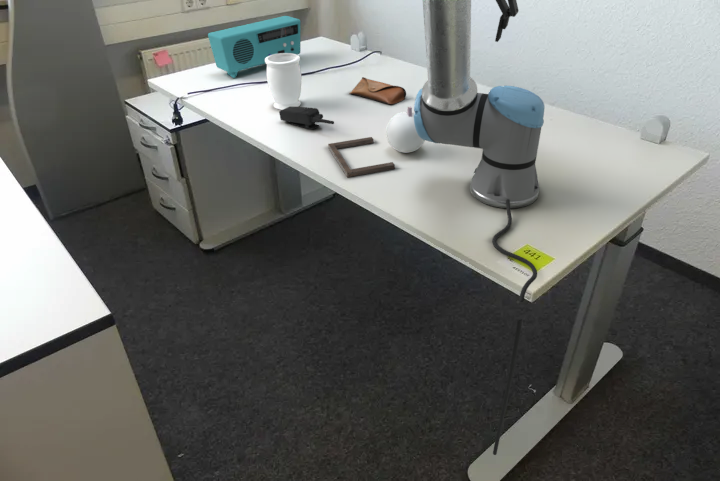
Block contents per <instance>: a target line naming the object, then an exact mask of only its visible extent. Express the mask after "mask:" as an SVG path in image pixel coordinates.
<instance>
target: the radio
mask: <svg viewBox="0 0 720 481" xmlns="http://www.w3.org/2000/svg"><path fill="white" fill-rule="evenodd" d="M207 37H208V40H209V45H210V48H211V51H212V55H213V58H214V62H215V66H216V67H217V69H220V70H222V71H225V72H226V73H227V75H228V76H230V77H231V78H232V79H236V78H237V75H238V72H240V71H244V70H247V69H251V68H254V67H255V68H256V67H258V66H262V65H266V63H265V58H266V57H268V56H270V55H274V54H280V53H292V54H296V55H298V56H299V55H300V54H301V20H300V19H299V18H295V17H292V16H288V15H283V16H279V17H274V18H269V19H264V20H261V21H255V22H251V23H248V24H243V25H238V26H233V27H229V28H225V29H221V30H216V31H211V32H208V33H207Z"/></svg>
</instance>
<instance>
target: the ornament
mask: <svg viewBox="0 0 720 481" xmlns="http://www.w3.org/2000/svg"><path fill="white" fill-rule="evenodd" d="M414 114H415V112H413V107H412V106H407V110H406V111H402V112H398V113H396V114H394V115H392V117H391V118H390V119H389V120H388V122H387V125H386V127H385V128H386V129H385V133H386V134H385V136H386V140H387V143H388V144H389V146H390V147H391V148H392V149H394V150H395V151H397V152H399V153H413V152H414V151H417V150H419V149H420V148H421V147H422V146H423V144H424V143H425V141H426V140H423V139H421V138H420V137H419V135H418V134H417V131H416V128H415V124H414Z"/></svg>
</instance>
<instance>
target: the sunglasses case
mask: <svg viewBox="0 0 720 481" xmlns="http://www.w3.org/2000/svg"><path fill="white" fill-rule="evenodd" d="M348 93H349V95H353V96H358V97H362V98H365V99H368V100H372V101H375V102H378V103H382V104H387V105H395V104H398V103H401V102H402V101H405V100H406V97H407V90H406V89H405V88H404V87H403V86H399V85H392V84H389V83H386V82H382V81H378V80H374V79H369V78H366V77H364V76H363V77H361V79H360V81H359V82H358V83H357V84H356V85H355V86H354V88H352V90H351V91H350V92H348Z"/></svg>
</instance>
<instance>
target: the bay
mask: <svg viewBox="0 0 720 481" xmlns="http://www.w3.org/2000/svg"><path fill="white" fill-rule="evenodd" d="M374 142H375V140H374V138H373V137H372V136H369V137H363V138H357V139H356V138H355V139H350V140H343V141H336V142H331V143H328V144H327V147H328V149H329V151H330V153H331V154H332V156H333V157H334V159H335V161H336V162H337V164H338V165H339V167H340V168H341V170H342V171H343V173H344V174H345V177H347V178H352V177H357V176H365V175H369V174H375V173H380V172H386V171H390V170H395V169H396V164H395V163H394V162H393V161H390V162H385V163H380V164H373V165H367V166H362V167H356V168H351V167H350V166H349V165H348V164H347V162H346V160H345V159H344V157H343V156H342V154H341V152H340V151H339V149H345V148H352V147H359V146H364V145H369V144H374Z"/></svg>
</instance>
